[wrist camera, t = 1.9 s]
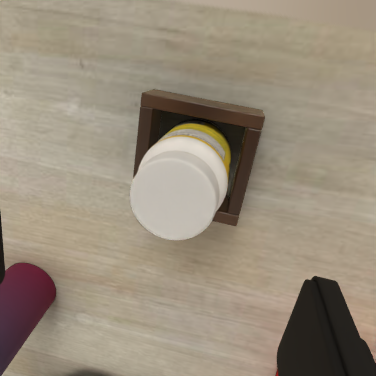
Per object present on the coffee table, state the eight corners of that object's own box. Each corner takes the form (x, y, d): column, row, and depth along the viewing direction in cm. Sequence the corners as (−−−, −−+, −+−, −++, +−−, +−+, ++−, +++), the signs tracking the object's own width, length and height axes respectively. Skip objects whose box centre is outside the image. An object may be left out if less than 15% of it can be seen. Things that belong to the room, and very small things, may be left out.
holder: (141, 188, 23) (130, 202, 21) (153, 88, 20) (141, 92, 18) (237, 210, 23) (236, 226, 20) (262, 110, 20) (265, 116, 17)
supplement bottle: (204, 197, 23) (183, 266, 15) (151, 158, 22) (101, 209, 15) (246, 146, 21) (248, 195, 13) (189, 102, 20) (155, 126, 13)
